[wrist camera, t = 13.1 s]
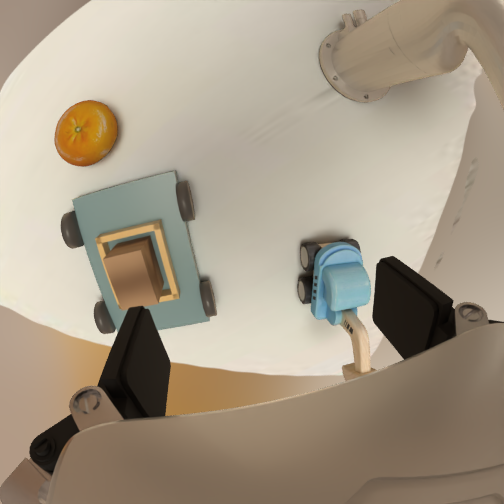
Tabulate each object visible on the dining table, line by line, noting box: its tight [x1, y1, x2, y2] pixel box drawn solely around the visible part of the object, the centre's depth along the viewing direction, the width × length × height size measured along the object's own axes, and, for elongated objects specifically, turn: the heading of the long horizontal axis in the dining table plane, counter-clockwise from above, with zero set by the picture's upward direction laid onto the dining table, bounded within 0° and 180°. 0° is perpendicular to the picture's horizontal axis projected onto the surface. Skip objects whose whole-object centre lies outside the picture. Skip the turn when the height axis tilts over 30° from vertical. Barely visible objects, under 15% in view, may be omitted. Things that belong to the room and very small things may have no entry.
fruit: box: [55, 100, 117, 166], centre depth 28 cm, size 8×8×8 cm
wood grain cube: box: [103, 235, 164, 311], centre depth 33 cm, size 7×5×6 cm
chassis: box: [61, 171, 217, 334], centre depth 36 cm, size 22×18×5 cm
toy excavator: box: [298, 239, 377, 381], centre depth 36 cm, size 9×17×17 cm, turn 1°
